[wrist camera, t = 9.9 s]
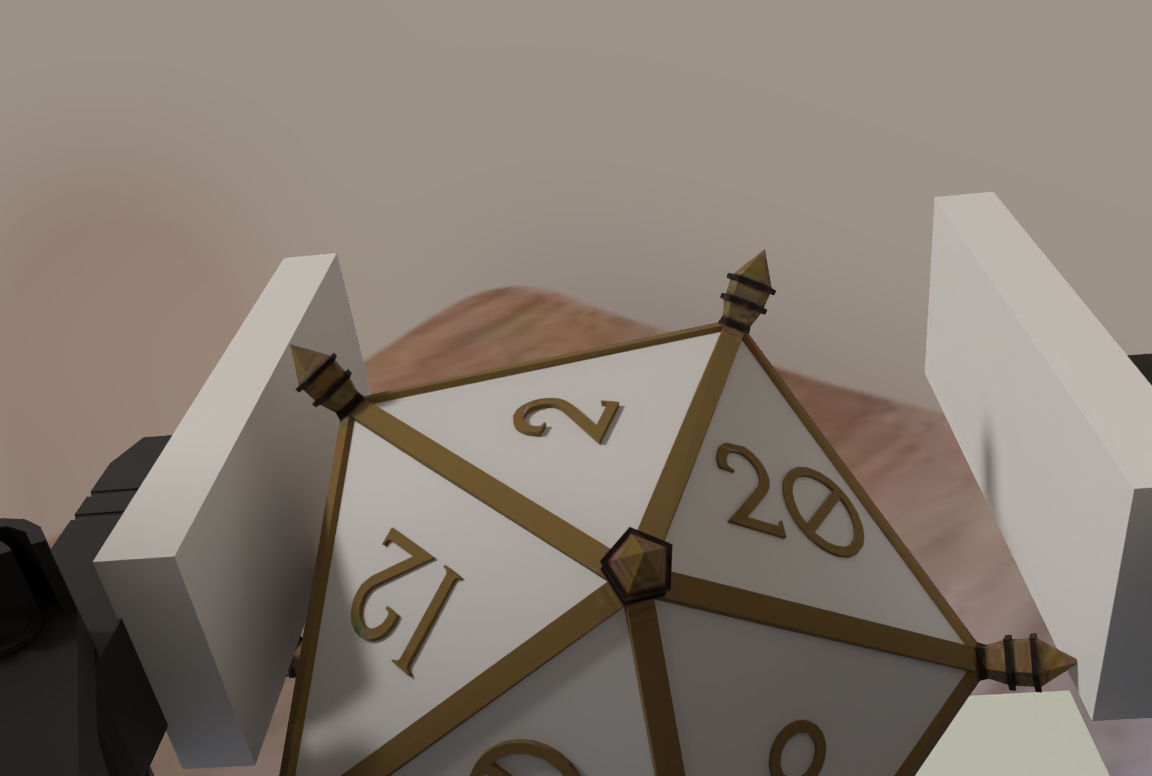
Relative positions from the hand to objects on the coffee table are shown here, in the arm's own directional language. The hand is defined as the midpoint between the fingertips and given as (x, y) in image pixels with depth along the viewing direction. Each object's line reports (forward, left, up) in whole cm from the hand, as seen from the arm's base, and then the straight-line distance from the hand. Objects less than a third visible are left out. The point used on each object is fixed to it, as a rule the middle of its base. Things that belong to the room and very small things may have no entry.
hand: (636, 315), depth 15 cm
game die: (-1, -5, -6) cm, 8 cm away
